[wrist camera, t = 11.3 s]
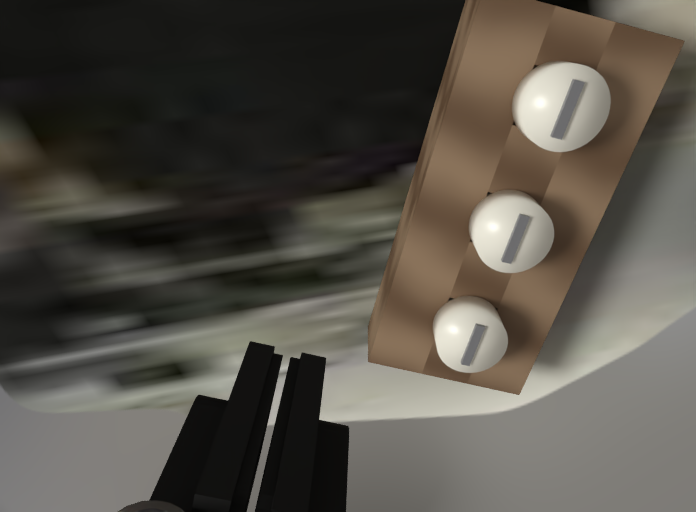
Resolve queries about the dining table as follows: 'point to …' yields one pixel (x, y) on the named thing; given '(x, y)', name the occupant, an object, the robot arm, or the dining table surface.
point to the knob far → (469, 334)
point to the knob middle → (510, 231)
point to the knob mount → (509, 180)
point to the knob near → (561, 105)
